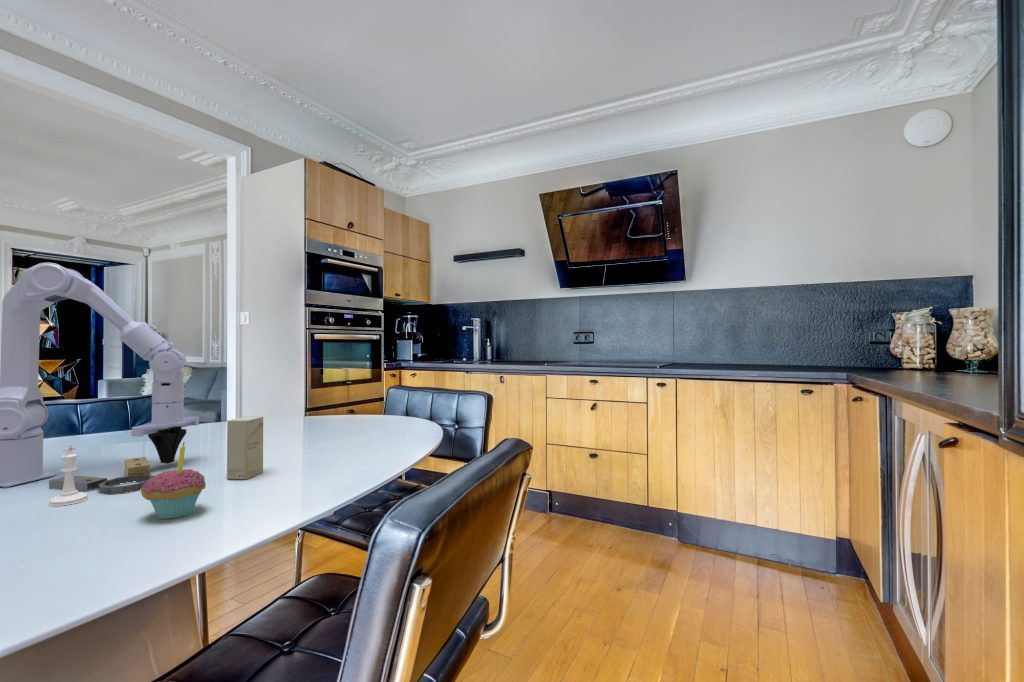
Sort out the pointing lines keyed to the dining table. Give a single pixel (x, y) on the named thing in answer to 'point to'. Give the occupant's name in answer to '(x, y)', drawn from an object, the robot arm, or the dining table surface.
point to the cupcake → (174, 490)
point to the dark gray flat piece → (103, 483)
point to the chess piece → (68, 482)
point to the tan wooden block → (137, 466)
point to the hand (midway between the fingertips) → (167, 462)
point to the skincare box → (244, 447)
